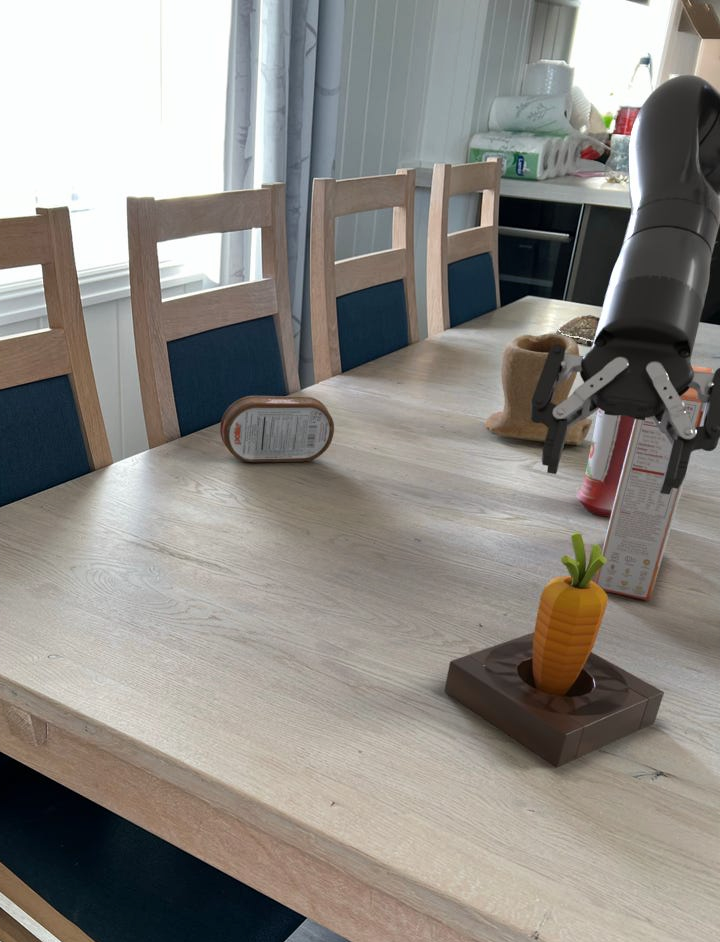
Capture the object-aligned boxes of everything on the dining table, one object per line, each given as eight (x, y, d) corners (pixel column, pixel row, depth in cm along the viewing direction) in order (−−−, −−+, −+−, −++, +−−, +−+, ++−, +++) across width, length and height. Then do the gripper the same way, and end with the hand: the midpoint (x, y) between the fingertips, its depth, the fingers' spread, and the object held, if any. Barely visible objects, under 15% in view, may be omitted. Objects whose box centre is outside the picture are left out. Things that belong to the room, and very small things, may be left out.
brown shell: (627, 341, 209) (633, 317, 207) (601, 349, 201) (607, 324, 199) (572, 330, 217) (577, 307, 214) (545, 336, 209) (550, 312, 206)
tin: (326, 455, 132) (333, 394, 128) (333, 463, 130) (340, 401, 125) (218, 457, 129) (221, 394, 125) (222, 465, 126) (226, 401, 122)
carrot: (581, 727, 78) (628, 557, 70) (518, 718, 78) (558, 548, 71) (574, 695, 82) (618, 531, 75) (514, 686, 83) (552, 523, 75)
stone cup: (479, 444, 141) (499, 338, 133) (486, 421, 151) (505, 322, 143) (588, 460, 137) (614, 352, 130) (588, 436, 147) (612, 334, 140)
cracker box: (607, 542, 111) (656, 358, 101) (662, 554, 109) (718, 367, 99) (588, 589, 100) (640, 387, 90) (649, 603, 98) (710, 398, 88)
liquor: (567, 496, 124) (622, 263, 110) (625, 501, 124) (688, 268, 110) (578, 517, 118) (638, 273, 104) (640, 523, 117) (708, 279, 103)
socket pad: (539, 656, 87) (547, 627, 86) (654, 723, 79) (664, 692, 77) (443, 691, 81) (449, 660, 80) (557, 767, 73) (565, 735, 71)
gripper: (566, 262, 78) (517, 440, 74) (760, 283, 73) (717, 473, 70) (560, 319, 85) (514, 484, 81) (736, 341, 80) (696, 517, 77)
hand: (608, 479), depth 75 cm, fingers open, 8 cm apart
